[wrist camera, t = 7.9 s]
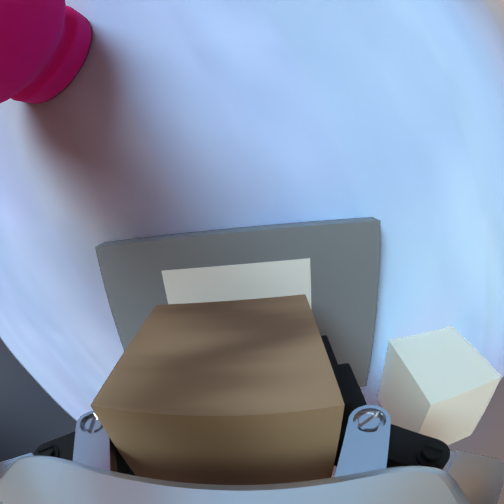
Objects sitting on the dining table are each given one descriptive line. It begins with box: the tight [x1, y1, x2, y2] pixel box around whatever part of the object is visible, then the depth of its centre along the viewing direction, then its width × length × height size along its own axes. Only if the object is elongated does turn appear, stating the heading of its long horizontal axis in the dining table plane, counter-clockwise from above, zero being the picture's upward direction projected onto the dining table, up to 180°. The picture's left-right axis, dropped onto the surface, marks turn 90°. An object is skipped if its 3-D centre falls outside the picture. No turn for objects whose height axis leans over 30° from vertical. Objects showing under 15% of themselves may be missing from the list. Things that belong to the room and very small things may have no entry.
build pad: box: [95, 217, 380, 387], centre depth 15 cm, size 14×10×1 cm
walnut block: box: [91, 294, 345, 485], centre depth 9 cm, size 6×6×6 cm
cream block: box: [377, 326, 501, 445], centre depth 13 cm, size 5×5×6 cm
